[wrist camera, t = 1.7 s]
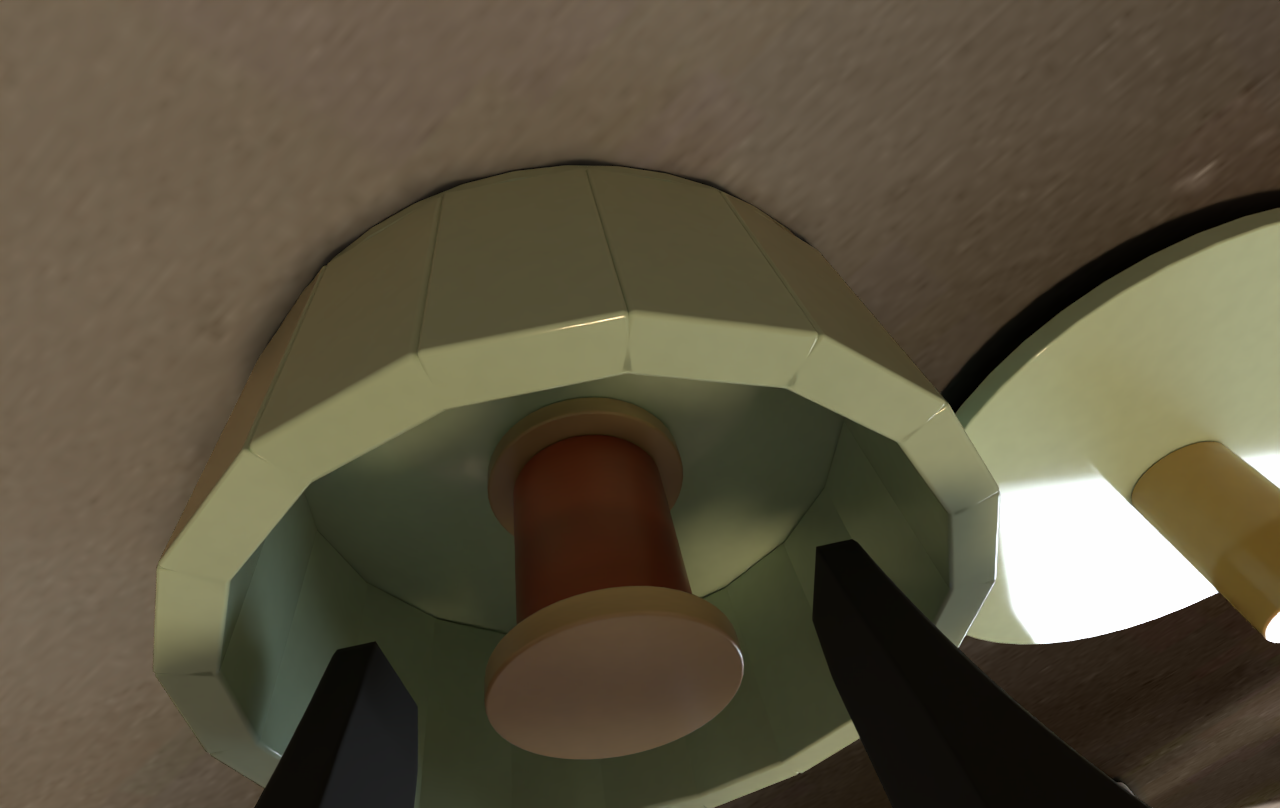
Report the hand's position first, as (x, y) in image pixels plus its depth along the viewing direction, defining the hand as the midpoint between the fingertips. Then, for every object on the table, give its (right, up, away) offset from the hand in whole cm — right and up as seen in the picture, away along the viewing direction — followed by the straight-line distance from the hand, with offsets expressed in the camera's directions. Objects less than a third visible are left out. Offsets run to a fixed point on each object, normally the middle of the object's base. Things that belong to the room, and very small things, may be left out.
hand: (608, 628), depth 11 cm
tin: (-1, +3, +3) cm, 4 cm away
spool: (-1, +2, +3) cm, 4 cm away
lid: (+14, +2, +6) cm, 15 cm away
